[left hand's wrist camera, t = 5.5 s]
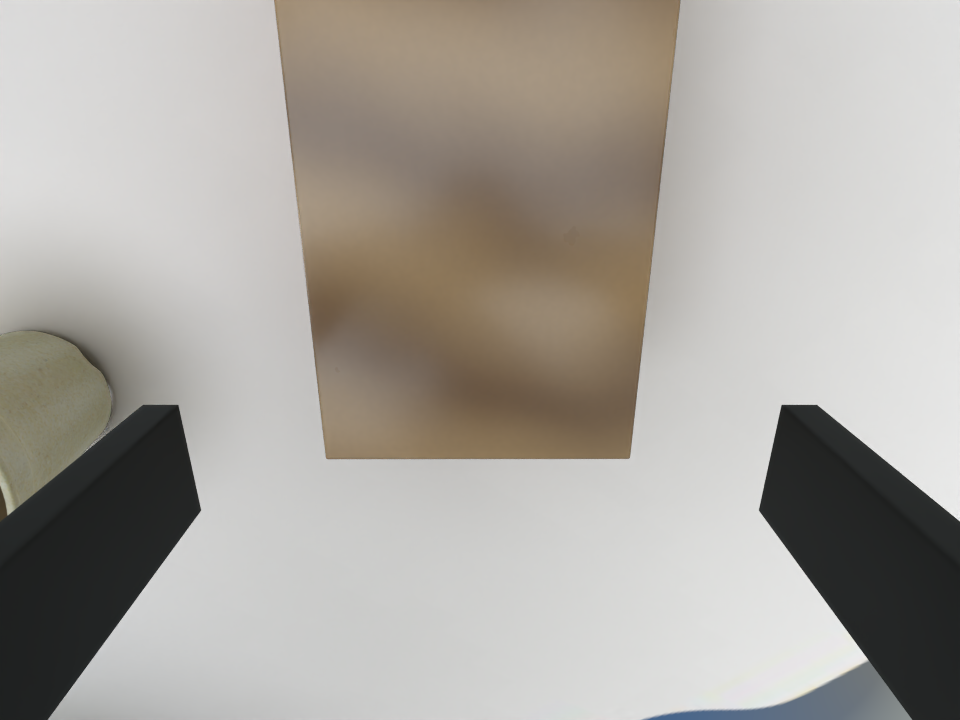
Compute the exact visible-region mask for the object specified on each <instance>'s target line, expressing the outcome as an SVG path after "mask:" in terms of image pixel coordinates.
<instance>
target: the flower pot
mask: <svg viewBox="0 0 960 720" xmlns="http://www.w3.org/2000/svg"><path fill="white" fill-rule="evenodd" d="M111 407H112V405H111V396H110V391H109V388H108V385H107V382H106V380H105V378H104V376H103V374H102V373H101V371H99V370H98V369H97V368H96V367H94V366H93V365H92V364H91V363H90V362H89V361H88V360H87V359H86V358H85V357H84V356H83V354H82V353H81V352H80V350H79V349H78V348H77V347H76V346H75V345H73V344H71V343H69V342H68V341H66V340H64V339H61V338H59V337H56V336H54V335H50V334H47V333H43V332H37V331H15V332H9V333H6V334H2V335H0V521H2V520H3V519H4V518H5V517H6V516H8V515H9V514H10V513H11V512H13V511H14V510H15V509H16V508H17V507H19V506H20V505H21V504H22V503H24V502H25V501H26V500H27V499H28V498H30V497H31V496H32V495H33V494H35V493H36V492H37V491H38V490H40V489H41V488H42V487H43V486H44V485H46V484H47V483H48V482H49V481H51V480H52V479H53V478H54V477H55V476H57V475H58V474H59V473H60V472H62V471H63V470H64V469H65V468H66V467H68V466H69V465H70V464H71V463H73V462H74V461H75V460H76V459H78V458H79V457H80V456H81V455H82V454H83V453H84V452H85V450H86V449H87V448H88V447H89V446H90V445H91V444H92V443H93V442H94V441H95V440H96V439H97V438H98V437H99V436H100V434H101V433H102V432H103V431H104V429H105V427H106V426H107V423H108V421H109V418H110V414H111Z"/></svg>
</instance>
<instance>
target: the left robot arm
mask: <svg viewBox="0 0 960 720" xmlns="http://www.w3.org/2000/svg"><path fill="white" fill-rule="evenodd" d="M200 511H201V508H200V503H199V499H198V494H197V489H196V485H195V480H194V476H193V471H192V466H191V462H190V457H189V452H188V448H187V443H186V438H185V434H184V429H183V425H182V420H181V415H180V411H179V406H178V405H142V406H141V407H140V408H139V409H138V410H136V411H135V412H134V413H133V414H131V415H130V416H129V417H128V418H127V419H125V420H124V421H123V422H122V423H120V424H119V425H118V426H117V427H115V428H114V429H113V430H112V431H111V432H109V433H108V434H107V435H106V436H104V437H103V438H102V439H101V440H100V441H98V442H97V443H96V444H95V445H93V446H92V447H91V448H90V449H89V450H87V451H86V452H85V453H84V454H82V455H81V456H80V457H79V458H78V459H76V460H75V461H74V462H73V463H71V464H70V465H69V466H68V467H66V468H65V469H64V470H63V471H62V472H60V473H59V474H58V475H57V476H55V477H54V478H53V479H52V480H51V481H49V482H48V483H47V484H46V485H44V486H43V487H42V488H41V489H40V490H38V491H37V492H36V493H35V494H33V495H32V496H31V497H30V498H28V499H27V500H26V501H25V502H24V503H22V504H21V505H20V506H19V507H17V508H16V509H15V510H14V511H13V512H11V513H10V514H9V515H8V516H6V517H5V518H4V519H3V520H2V521H0V720H48V718H49V717H50V716H51V714H52V713H53V712H54V710H55V709H56V708H57V706H58V705H59V703H60V702H61V701H62V699H63V698H64V697H65V695H66V694H67V693H68V691H69V690H70V688H71V687H72V686H73V684H74V683H75V682H76V680H77V679H78V678H79V676H80V675H81V673H82V672H83V671H84V669H85V668H86V667H87V665H88V664H89V663H90V661H91V660H92V658H93V657H94V656H95V654H96V653H97V652H98V650H99V649H100V648H101V646H102V645H103V643H104V642H105V641H106V639H107V638H108V637H109V635H110V634H111V633H112V631H113V630H114V628H115V627H116V626H117V624H118V623H119V622H120V620H121V619H122V618H123V616H124V615H125V613H126V612H127V611H128V609H129V608H130V607H131V605H132V604H133V603H134V601H135V600H136V598H137V597H138V596H139V594H140V593H141V592H142V590H143V589H144V588H145V586H146V585H147V583H148V582H149V581H150V579H151V578H152V577H153V575H154V574H155V573H156V571H157V570H158V568H159V567H160V566H161V564H162V563H163V562H164V560H165V559H166V558H167V556H168V555H169V553H170V552H171V551H172V549H173V548H174V547H175V545H176V544H177V543H178V541H179V540H180V538H181V537H182V536H183V534H184V533H185V532H186V530H187V529H188V528H189V526H190V525H191V523H192V522H193V521H194V519H195V518H196V517H197V515H198V514H199V513H200ZM759 511H760V513H761V514H762V515H763V517H764V518H765V519H766V521H767V522H768V523H769V525H770V526H771V528H772V529H773V530H774V532H775V533H776V534H777V536H778V537H779V538H780V540H781V541H782V543H783V544H784V545H785V547H786V548H787V549H788V551H789V552H790V553H791V555H792V556H793V558H794V559H795V560H796V562H797V563H798V564H799V566H800V567H801V568H802V570H803V571H804V573H805V574H806V575H807V577H808V578H809V579H810V581H811V582H812V583H813V585H814V586H815V588H816V589H817V590H818V592H819V593H820V594H821V596H822V597H823V598H824V600H825V601H826V603H827V604H828V605H829V607H830V608H831V609H832V611H833V612H834V613H835V615H836V616H837V618H838V619H839V620H840V622H841V623H842V624H843V626H844V627H845V628H846V630H847V631H848V633H849V634H850V635H851V637H852V638H853V639H854V641H855V642H856V643H857V645H858V646H859V648H860V649H861V650H862V652H863V653H864V654H865V656H866V657H867V658H868V660H869V661H870V663H871V664H872V665H873V667H874V668H875V669H876V671H877V672H878V673H879V675H880V676H881V677H882V679H883V680H884V682H885V683H886V684H887V686H888V687H889V688H890V690H891V691H892V692H893V694H894V695H895V697H896V698H897V699H898V701H899V702H900V703H901V705H902V706H903V708H904V709H905V710H906V712H907V713H908V714H909V716H910V717H911V718H912V720H960V521H958V520H957V519H956V518H955V517H954V516H952V515H951V514H950V513H949V512H947V511H946V510H945V509H944V508H943V507H941V506H940V505H939V504H938V503H936V502H935V501H934V500H933V499H932V498H930V497H929V496H928V495H927V494H925V493H924V492H923V491H922V490H920V489H919V488H918V487H917V486H916V485H914V484H913V483H912V482H911V481H909V480H908V479H907V478H906V477H905V476H903V475H902V474H901V473H900V472H898V471H897V470H896V469H895V468H894V467H892V466H891V465H890V464H889V463H887V462H886V461H885V460H884V459H882V458H881V457H880V456H879V455H878V454H876V453H875V452H874V451H873V450H871V449H870V448H869V447H868V446H867V445H865V444H864V443H863V442H862V441H860V440H859V439H858V438H857V437H856V436H854V435H853V434H852V433H851V432H849V431H848V430H847V429H846V428H845V427H843V426H842V425H841V424H840V423H838V422H837V421H836V420H835V419H833V418H832V417H831V416H830V415H829V414H827V413H826V412H825V411H824V410H822V409H821V408H820V407H819V406H818V405H782V406H781V411H780V415H779V420H778V425H777V429H776V434H775V438H774V443H773V448H772V452H771V457H770V462H769V466H768V471H767V476H766V480H765V485H764V489H763V494H762V499H761V503H760V508H759Z"/></svg>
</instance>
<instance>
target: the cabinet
mask: <svg viewBox="0 0 960 720" xmlns="http://www.w3.org/2000/svg"><path fill="white" fill-rule="evenodd" d="M274 3H275V11H276V20H277V29H278V38H279V47H280V56H281V65H282V73H283V82H284V91H285V100H286V109H287V118H288V127H289V135H290V144H291V153H292V162H293V171H294V180H295V189H296V197H297V206H298V215H299V224H300V233H301V242H302V251H303V259H304V268H305V277H306V286H307V295H308V304H309V313H310V321H311V330H312V339H313V348H314V357H315V366H316V375H317V383H318V392H319V401H320V410H321V419H322V428H323V437H324V445H325V454H326V459H629V458H630V452H631V443H632V434H633V425H634V416H635V407H636V398H637V389H638V380H639V371H640V362H641V353H642V344H643V335H644V326H645V317H646V308H647V299H648V290H649V281H650V272H651V263H652V254H653V245H654V235H655V226H656V217H657V208H658V199H659V190H660V181H661V172H662V163H663V154H664V145H665V136H666V127H667V118H668V109H669V100H670V91H671V82H672V73H673V64H674V55H675V46H676V37H677V28H678V19H679V10H680V0H274Z"/></svg>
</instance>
